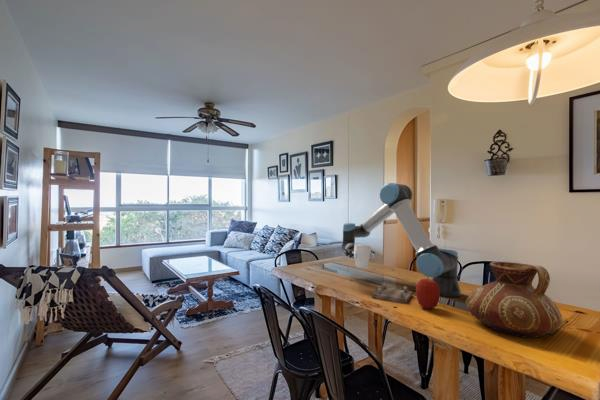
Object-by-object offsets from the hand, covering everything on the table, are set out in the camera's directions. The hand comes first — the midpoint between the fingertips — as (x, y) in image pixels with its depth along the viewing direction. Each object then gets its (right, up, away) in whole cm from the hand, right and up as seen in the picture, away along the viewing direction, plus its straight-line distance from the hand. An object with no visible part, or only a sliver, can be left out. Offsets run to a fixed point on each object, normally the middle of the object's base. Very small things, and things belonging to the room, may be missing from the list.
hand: (365, 256), depth 163 cm
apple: (+22, -18, -26) cm, 39 cm away
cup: (-1, -7, +4) cm, 8 cm away
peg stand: (+11, -18, -10) cm, 24 cm away
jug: (+46, -19, -45) cm, 67 cm away
